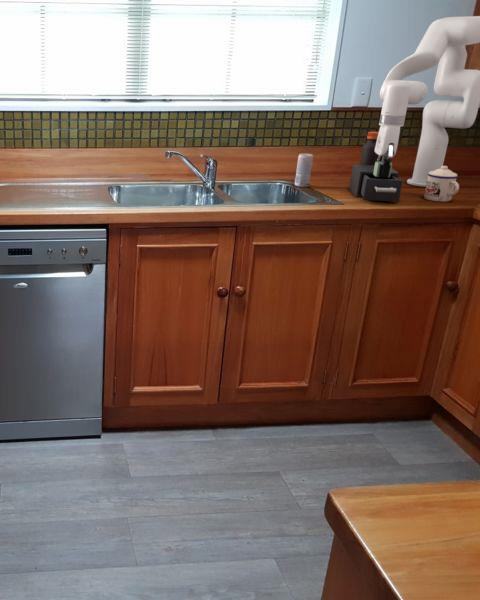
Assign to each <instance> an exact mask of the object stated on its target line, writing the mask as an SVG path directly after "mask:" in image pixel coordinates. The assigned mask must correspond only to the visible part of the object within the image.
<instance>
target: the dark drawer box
mask: <svg viewBox="0 0 480 600" xmlns="http://www.w3.org/2000/svg"><path fill="white" fill-rule="evenodd" d="M374 166H375V165H360V164H352V168H351V174H350V179H349V185H348V189H349V191H350V192H351V193H352V194H353V195H354V196H355V197H356V198H363V196H362V195H361V194H360V193H359V191H360V186H361V180H362V174H373V172H374ZM390 175H393V176H395V177H396V178H397V179H399V175H400V173H399V172H398V171H397V170H395V169H394V168H392V169H391V174H390Z"/></svg>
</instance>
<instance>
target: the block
mask: <svg viewBox="0 0 480 600" xmlns="http://www.w3.org/2000/svg"><path fill="white" fill-rule="evenodd" d="M380 165H382V162H375V166H374V172H373V175H374V176H376V177H379V176H378V174H379V169H380ZM391 169H393V163H391V167H390V172H389V176H388V177H390V174H391Z"/></svg>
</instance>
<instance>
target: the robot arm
mask: <svg viewBox="0 0 480 600" xmlns="http://www.w3.org/2000/svg"><path fill="white" fill-rule="evenodd" d="M479 43H480V15H471V16H470V15H469V16H447V17H442V18H438V19H436V20H434V21H432V22H431V23H430V24H429V26H428V28H427V30H426V32H425V33H424V35H423V37H422V39H421V40H420V42H419V44H418V46H417V48H416V49H415V51H414V52H413V54H411V55H408V56H406V58H404V59H402V60H401V61H400V62H398V63H397V64H395V65H394V66H393V67H392V68H391V69H390V70H389V71H388V74H387V75H386V76H385V79H384V80H383V82H382V85H381V87H380V90H379V98H380V100H381V101H382V107H381V112H380V117H379V123H378V125H379V130H378V132H379V133H378V137H377V142H376V146H375V153H376V154H378V159H377V162H382V165H380V169H379V174H378V176H379V177H388V176H389V172H390V167H391V164H392V160H393V157H394V156H396V153H397V151H398V146H399V140H400V134H401V127H404V126H405V119H406V115H407V111H408V107H409V106H408V105H411V106H412V105H418V104H420V103H422V102H423V101H424V100H425V99H426V98H427V96H428V86H427V84H426V83H425V82H423V81H419V80H404V79H405V78H408V77H410V76H412V75H415V74H419V73H421V72H424V71H428V70H430V69H433V68H435V67H436V66H437V69H436V74H435V79H434V83H433V93H434V94H435V95H437V96H440V97H453V98H463V100H462V101H461V100H452V99H451V100H449V99H434V100H430V101H429V102H428V103H426V104H425V106H424V108H423V111H422V126H421V134H420V139H419V144H418V149H417V154H416V158H415V162H414V167H413V173H412V177H411V178H408V179H407V180H406V184H408V185H410V186H414V187H422V188H426V184H427V180H428V173H429V172H430V171H435V170H437V169H441V166H444V162H445V158H446V154H447V149H448V145H449V135H448V132H447V130H446V129H445V128H450V129H468V128H471V127H472V126H473V125H474V123H475V121H476V119H477V115H478V111H479V107H480V70H479V69H471V68H470V69H468V68H467V69H465V66H466V62H467V58H468V52H467V49H466V47H465V46H470V45H475V44H479Z"/></svg>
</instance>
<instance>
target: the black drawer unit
mask: <svg viewBox="0 0 480 600" xmlns="http://www.w3.org/2000/svg"><path fill="white" fill-rule="evenodd" d="M403 182H404V180H403V179H399V178H398V179H397V178H396V177H395V176H393V175H390V177H376V176H374V175H373V174H362V180H361V186H360V191H359V193H360V194H361V195H362V196H363V197H362V200H363V201H377V202H379V201H380V202H395V203H396V202H397V203H398V202H400V198H401V193H402V188H403V187H402V186H403V184H404V183H403Z"/></svg>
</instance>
